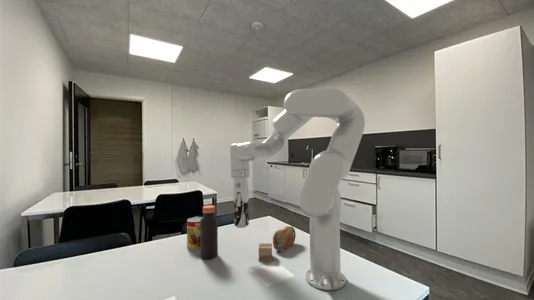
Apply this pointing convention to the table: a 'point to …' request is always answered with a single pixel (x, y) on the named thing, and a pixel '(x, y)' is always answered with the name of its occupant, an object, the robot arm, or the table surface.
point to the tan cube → (265, 252)
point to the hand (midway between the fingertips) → (241, 219)
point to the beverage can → (241, 216)
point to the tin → (284, 238)
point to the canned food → (193, 233)
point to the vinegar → (209, 233)
